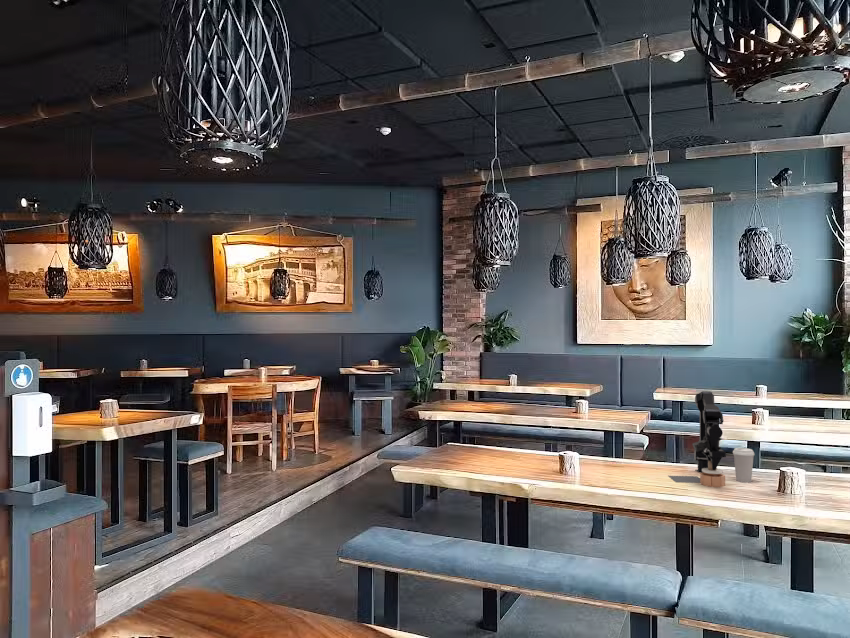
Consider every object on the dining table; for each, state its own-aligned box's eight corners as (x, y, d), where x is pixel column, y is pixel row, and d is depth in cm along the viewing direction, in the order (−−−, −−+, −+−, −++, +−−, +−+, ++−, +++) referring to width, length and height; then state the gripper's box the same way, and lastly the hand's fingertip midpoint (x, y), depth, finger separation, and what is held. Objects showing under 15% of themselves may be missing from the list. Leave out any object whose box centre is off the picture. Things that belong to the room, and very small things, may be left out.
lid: (699, 469, 305) (699, 459, 305) (718, 470, 304) (718, 459, 304) (705, 473, 296) (705, 463, 296) (726, 474, 295) (725, 463, 295)
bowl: (698, 482, 305) (697, 472, 305) (720, 483, 304) (719, 472, 304) (705, 487, 295) (705, 476, 295) (727, 488, 294) (727, 477, 294)
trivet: (667, 476, 317) (667, 475, 317) (697, 477, 316) (697, 476, 316) (675, 483, 303) (675, 482, 303) (706, 484, 302) (706, 483, 302)
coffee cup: (743, 477, 315) (742, 447, 315) (759, 482, 306) (759, 450, 306) (728, 479, 312) (727, 448, 312) (744, 483, 303) (744, 451, 303)
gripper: (688, 431, 310) (688, 464, 310) (700, 438, 292) (701, 473, 291) (712, 432, 309) (712, 464, 309) (726, 438, 291) (726, 473, 290)
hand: (712, 468), depth 300 cm, fingers closed on lid, 4 cm apart
